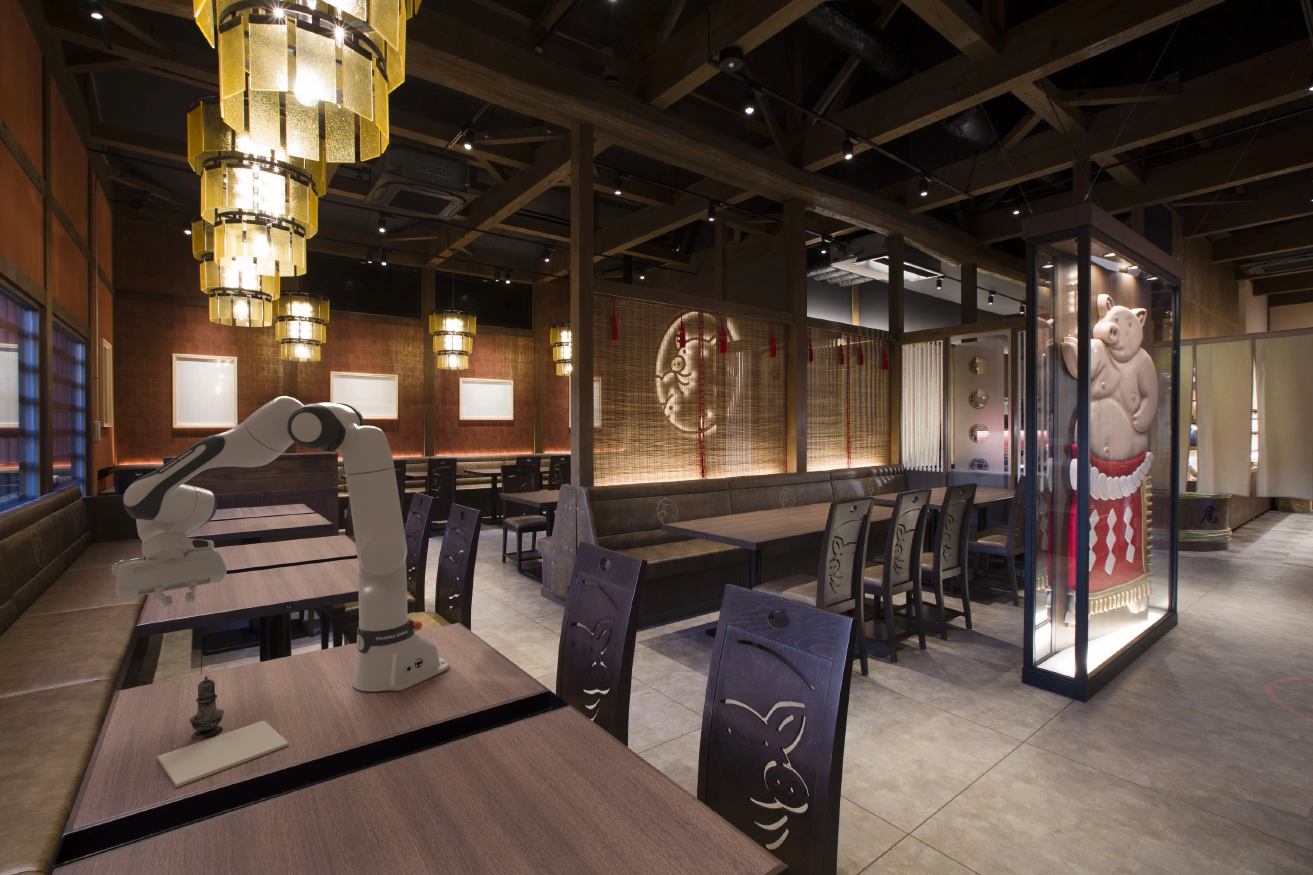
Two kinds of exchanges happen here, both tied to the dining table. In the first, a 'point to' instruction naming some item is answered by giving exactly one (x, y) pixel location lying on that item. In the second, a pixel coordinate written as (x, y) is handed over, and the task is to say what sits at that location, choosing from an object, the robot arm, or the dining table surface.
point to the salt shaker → (206, 712)
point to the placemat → (220, 752)
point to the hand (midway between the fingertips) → (179, 602)
